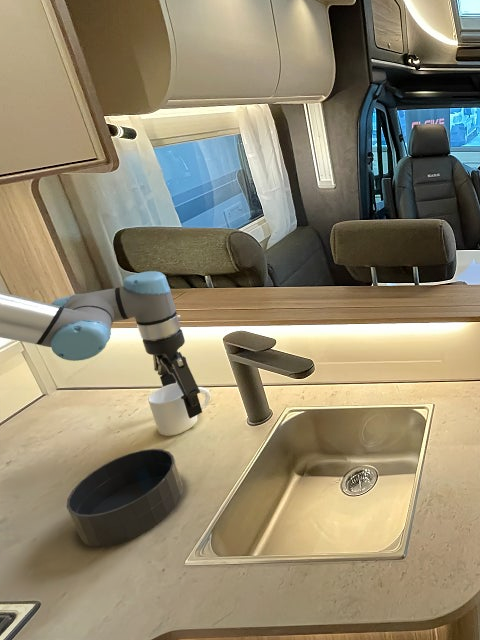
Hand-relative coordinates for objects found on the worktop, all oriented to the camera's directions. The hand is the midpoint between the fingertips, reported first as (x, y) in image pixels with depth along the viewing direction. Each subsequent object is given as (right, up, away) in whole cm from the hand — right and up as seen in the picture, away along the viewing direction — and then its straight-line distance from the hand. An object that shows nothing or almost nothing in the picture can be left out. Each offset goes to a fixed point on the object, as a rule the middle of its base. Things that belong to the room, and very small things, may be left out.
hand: (184, 404), depth 107 cm
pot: (+7, -14, -22) cm, 27 cm away
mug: (0, -5, +2) cm, 6 cm away
